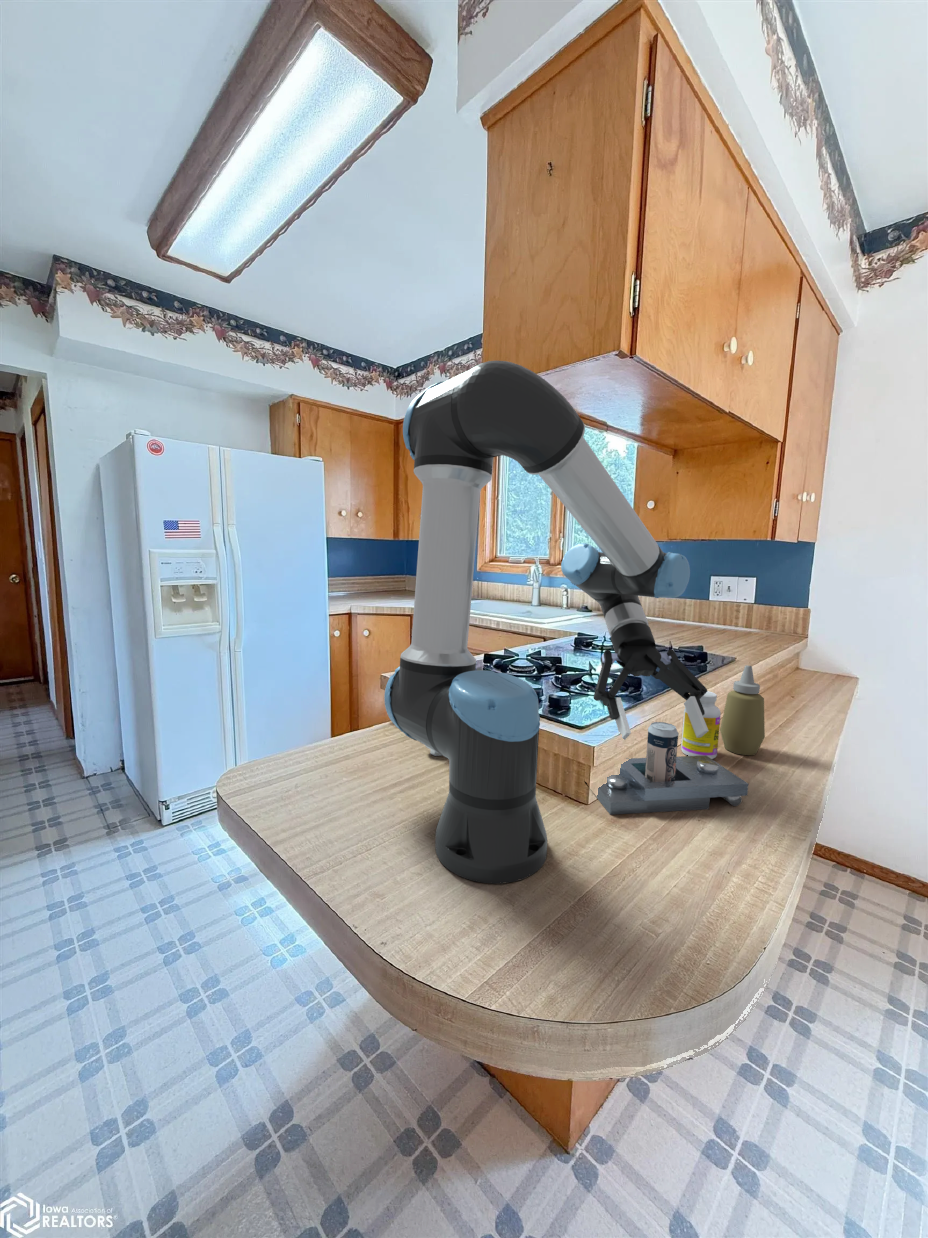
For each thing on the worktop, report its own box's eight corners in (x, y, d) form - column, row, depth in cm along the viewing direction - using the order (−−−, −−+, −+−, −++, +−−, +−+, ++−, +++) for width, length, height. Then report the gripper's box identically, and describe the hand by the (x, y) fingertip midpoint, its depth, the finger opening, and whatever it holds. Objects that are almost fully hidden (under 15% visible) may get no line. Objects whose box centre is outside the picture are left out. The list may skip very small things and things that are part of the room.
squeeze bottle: (751, 744, 105) (759, 662, 102) (770, 759, 97) (780, 671, 94) (712, 742, 106) (719, 661, 103) (728, 757, 98) (736, 670, 95)
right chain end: (643, 812, 76) (645, 782, 75) (613, 780, 87) (615, 753, 86) (746, 807, 78) (749, 777, 77) (704, 776, 89) (706, 750, 88)
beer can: (674, 803, 79) (680, 732, 77) (643, 798, 81) (648, 728, 79) (672, 790, 83) (678, 723, 82) (643, 785, 85) (647, 719, 83)
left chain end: (610, 814, 75) (611, 796, 75) (583, 781, 86) (584, 765, 86) (708, 809, 77) (710, 791, 77) (671, 777, 88) (672, 762, 88)
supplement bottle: (717, 763, 94) (723, 699, 93) (680, 757, 97) (685, 695, 96) (716, 751, 100) (721, 691, 99) (681, 745, 103) (685, 686, 102)
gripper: (681, 642, 98) (722, 742, 86) (562, 643, 95) (586, 746, 83) (699, 620, 92) (745, 724, 80) (572, 620, 89) (600, 727, 77)
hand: (664, 735), depth 81 cm, fingers open, 13 cm apart
